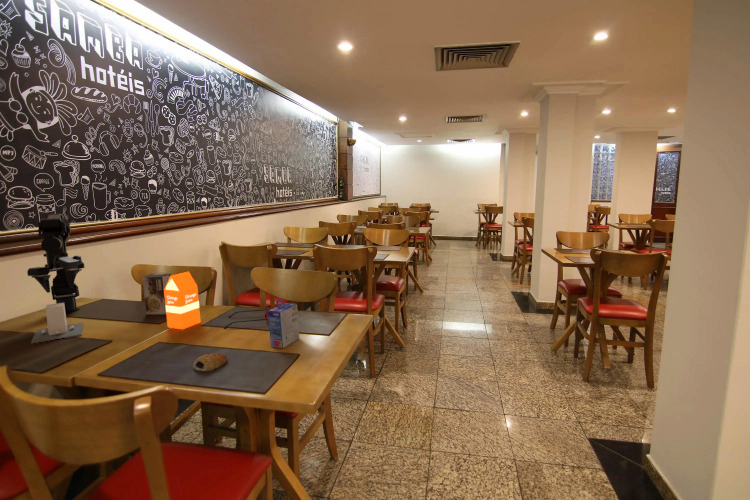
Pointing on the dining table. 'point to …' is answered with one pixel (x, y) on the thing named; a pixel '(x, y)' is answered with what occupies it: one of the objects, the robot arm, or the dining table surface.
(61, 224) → the robot arm
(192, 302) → the orange juice
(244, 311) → the glasses
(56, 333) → the locator pins
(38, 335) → the mat
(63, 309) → the block
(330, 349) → the dining table surface
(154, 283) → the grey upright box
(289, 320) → the ink cartridge box
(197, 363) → the pastry
